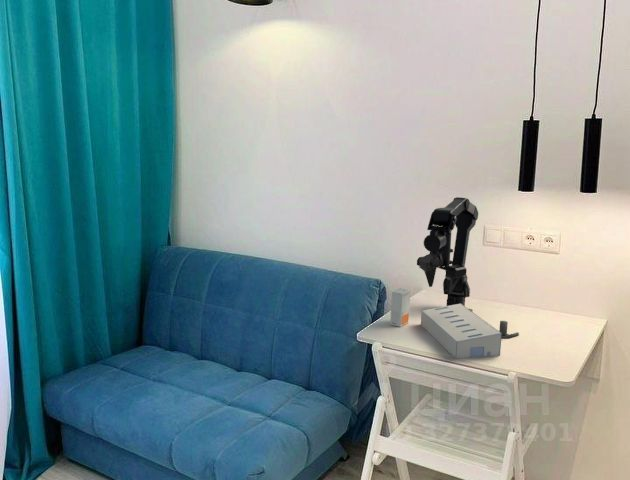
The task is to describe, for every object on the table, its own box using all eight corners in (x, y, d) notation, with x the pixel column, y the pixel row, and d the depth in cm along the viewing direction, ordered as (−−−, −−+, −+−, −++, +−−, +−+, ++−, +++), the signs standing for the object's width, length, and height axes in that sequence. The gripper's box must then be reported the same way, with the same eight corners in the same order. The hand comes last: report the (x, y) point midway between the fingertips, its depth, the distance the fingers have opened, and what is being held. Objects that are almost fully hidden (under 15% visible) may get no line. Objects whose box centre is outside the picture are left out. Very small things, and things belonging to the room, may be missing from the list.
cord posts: (463, 315, 220) (464, 302, 219) (519, 335, 200) (520, 321, 199) (449, 318, 216) (450, 305, 215) (504, 339, 196) (506, 325, 195)
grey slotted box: (420, 325, 210) (421, 305, 208) (459, 323, 212) (460, 303, 211) (455, 359, 181) (457, 335, 179) (499, 356, 183) (501, 333, 182)
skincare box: (400, 327, 207) (402, 294, 204) (389, 324, 209) (391, 291, 207) (409, 322, 211) (410, 290, 209) (398, 320, 214) (400, 287, 211)
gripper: (405, 243, 207) (404, 286, 210) (443, 254, 191) (441, 301, 195) (430, 239, 213) (428, 282, 216) (468, 250, 197) (466, 295, 201)
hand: (439, 290), depth 207 cm, fingers open, 9 cm apart
